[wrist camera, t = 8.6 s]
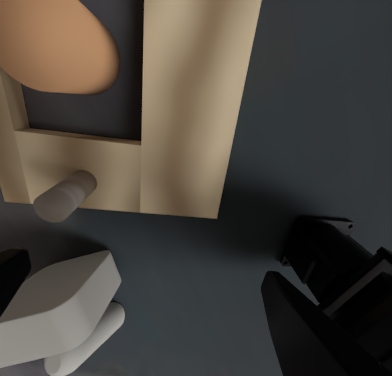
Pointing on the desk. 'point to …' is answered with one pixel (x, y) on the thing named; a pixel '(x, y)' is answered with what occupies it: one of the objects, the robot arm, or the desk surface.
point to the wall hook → (62, 314)
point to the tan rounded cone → (57, 47)
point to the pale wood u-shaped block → (144, 124)
